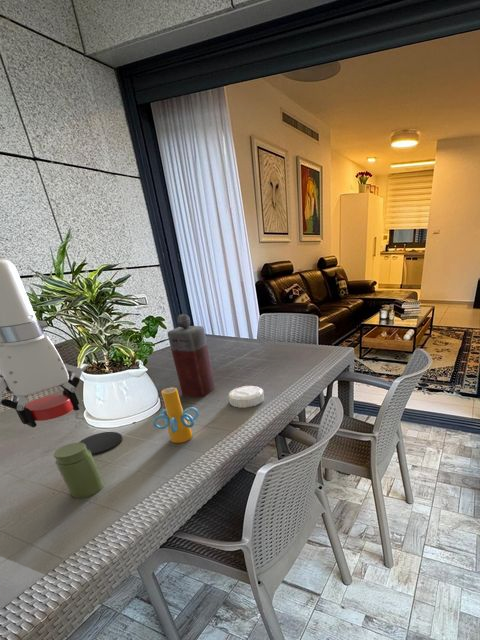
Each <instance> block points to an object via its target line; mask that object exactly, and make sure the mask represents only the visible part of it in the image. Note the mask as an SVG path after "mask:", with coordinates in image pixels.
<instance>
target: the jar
mask: <svg viewBox="0 0 480 640" xmlns="http://www.w3.org/2000/svg"><path fill="white" fill-rule="evenodd" d="M53 457H54V459H55V462H54V463H55V465H56V467H57V469H58V472H59V473H60V475H61V477H62V479H63V481H64V483H65V486H66V487H67V488H66V489H68V492H69V493H70V497H72V498H74V499H84V498H85V499H86V498H88V497H91V496H93V495H96V494H97V493H98V492H100V491H102V489H103V487H104V485H105V482H104V479H103V478H102V475H101V472H100V470H99V467H98V466H97V463H96V461H95V459H94V455H92V454H91V451H90V450H88V449H87V447H86V445H85V444H84V443H79V442H72V443H71V442H70V443H68V444H65V445H63V446H60V447H58V448H57V449H56V450H55V451H54V452H53Z"/></svg>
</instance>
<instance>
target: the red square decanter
mask: <svg viewBox="0 0 480 640" xmlns="http://www.w3.org/2000/svg"><path fill="white" fill-rule="evenodd" d="M176 322H177V324H178V325H177V327H175V328H174V329H171V330H169V331H167V339H168V343H169V346H170V351H171V354H172V358H173V363H174V365H175V366H174V367H175V372H176V375H177V379H178V383H179V387H180V390H181V395H182V396H184V397H185V396H186V397H200V398H205V397H206V396H207V395H208V394H210V393H211V392H212V391H214V390H215V389H216V388H217V387H216V382H215V378H214V372H213V366H212V361H211V357H210V352H209V347H208V346H209V345H208V341H207V336H206V331H205V328H204V326H202V325H191V319H190V316H189V315H188V314H179V315H178V316H177V321H176Z"/></svg>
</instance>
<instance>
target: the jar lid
mask: <svg viewBox="0 0 480 640" xmlns="http://www.w3.org/2000/svg"><path fill="white" fill-rule="evenodd" d="M25 407H26V408H28V409H29V410H30V412H31V414H32V416H33V418H34V420H35V422H41V421H42V422H43V421H49V420H54V419H57V418H60V417H62V416H65V415H67V414H69V413H71V412H72V410H73V404H72V402H71V399H70V398H69V396H67V395H63V394H52V395H51V394H50V395H47V396H42V397H39V398H36V399H33V400H31V401H30V402H28V403H25Z"/></svg>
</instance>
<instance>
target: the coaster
mask: <svg viewBox="0 0 480 640" xmlns="http://www.w3.org/2000/svg"><path fill="white" fill-rule="evenodd" d="M122 442H123V435H122V434H121V433H119V432H117V431H104V432H98V433H95V434H92V435H88V436H87V437H85V438H83V439H81V440H80V441H79V442H78V443H84V444H85V445H86V447H87V449H88V450H90V451H91V454H92V456H97V455H99V454H103V453H106V452H109V451H111V450H113V449H116V447H118V446H119V445H120V444H121V443H122Z"/></svg>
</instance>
